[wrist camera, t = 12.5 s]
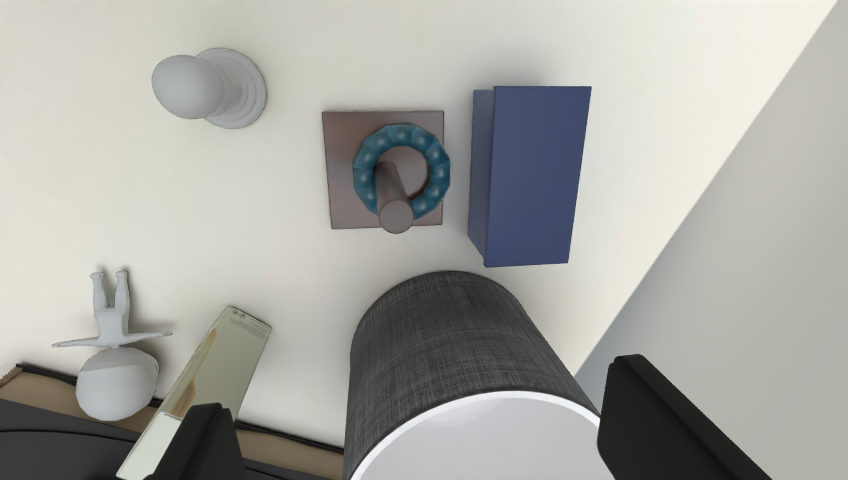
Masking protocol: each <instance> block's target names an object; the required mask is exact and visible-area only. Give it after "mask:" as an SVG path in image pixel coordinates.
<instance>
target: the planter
mask: <svg viewBox="0 0 848 480" xmlns="http://www.w3.org/2000/svg"><path fill="white" fill-rule="evenodd" d="M600 417H601V415H600V413H599V412H598V411H597V409H596V408H595V407H594V405H593V404H592V402H591V401H590V400H589V398H588V397H587V396H586V394H585V393H584V392H583V390H582V389H581V388H580V386H579V385H578V384H577V382H576V381H575V379H574V378H573V376H572V375H571V374H570V372H569V371H568V370H567V368H566V367H565V366H564V364H563V363H562V361H561V360H560V359H559V357H558V356H557V355H556V353H555V352H554V351H553V349H552V348H551V346H550V345H549V344H548V342H547V341H546V340H545V338H544V337H543V336H542V334H541V333H540V332H539V330H538V329H537V328H536V326H535V325H534V324H533V322H532V321H531V319H530V318H529V317H528V315H527V313H526V312H525V310H524V308H523V307H522V306H521V304H520V303H519V301H518V300H517V299H516V298H515V297H514V296H513V295H512V294H511V293H510V292H509V291H508V290H506V289H505V288H504V287H502V286H501V285H499V284H498V283H496V282H494V281H492V280H490V279H488V278H485V277H482V276H479V275H475V274H471V273H466V272H453V271H448V272H436V273H430V274H426V275H422V276H418V277H416V278H413V279H410V280H408V281H405V282H403V283H401V284H399V285H397V286H396V287H394V288H393V289H391V290H390V291H388V292H387V293H385V294H384V295H383V296H382V297H380V298H379V299H378V300H377V301H376V302H375V303H374V304H373V305H372V306H371V307H370V309H369V310H368V311H367V312H366V314H365V315H364V316H363V318H362V320H361V321H360V323H359V325H358V327H357V329H356V332H355V334H354V337H353V341H352V345H351V352H350V378H349V391H348V403H347V416H346V430H345V443H344V457H343V470H342V480H615V479H614V477H613V475H612V474H611V472H610V471H609V469H608V468H607V466H606V465H605V463H604V461H603V460H602V458H601V456H600V455H599V452H598V449H597V436H598V429H599V423H600Z"/></svg>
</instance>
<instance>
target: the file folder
mask: <svg viewBox="0 0 848 480" xmlns="http://www.w3.org/2000/svg"><path fill="white" fill-rule="evenodd" d="M76 384H77V380H76V379H73V378H69V377H65V376H61V375H58V374H54V373H50V372H46V371H43V370H39V369H35V368H31V367H28V366H24V365H20V364H16V367H14V369H12V370H11V371H10V372H8V375H7V374H6V375H5V376H3V378H2V379H0V480H125V479H122V478H119V477H117V476H116V474H117V472H118V470H119V469H120V467H121V466H122V464H123V462H124V461H125V459H126V458H127V456H128V455H129V453H130V451H131V450H132V448H133V447H134V445H135V444H136V442H137V441H138V439H139V438H140V436H141V435H142V433H143V432H144V430H145V428H146V427H147V425H148V424H149V422H150V421H151V419H152V418H153V416H154V415H155V413H156V412H157V410H158V409H159V407H160V406H161V404H162V402H159V401H155V400H151V401H150V402H149V404H148V405H146V406H145V407H143V408H142V409H141V410H139V411H138V412H136V413H135V414H133V415H132V416H130V417H127V418H124V419H121V420H118V421H101V420H98V419H96V418H93V417H91V416H88V415H87V414H86V413H85V411H84V410H83V409H82V408H81V407H80V406H79V403H78V400H77V397H76ZM234 426H235V430H236V434H237V438H238V442H239V446H240V450H241V454H242V458H243V462H244V466H245V470H246V474H247V478H248V480H342V470H343V457H344V451H342V450H338V449H335V448H331V447H327V446H323V445H320V444H316V443H312V442H308V441H305V440H301V439H297V438H293V437H290V436H286V435H282V434H278V433H275V432H271V431H267V430H263V429H260V428H256V427H252V426H248V425H245V424H241V423H239V421H237V422H234Z"/></svg>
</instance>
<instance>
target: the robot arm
mask: <svg viewBox="0 0 848 480" xmlns="http://www.w3.org/2000/svg"><path fill="white" fill-rule="evenodd" d="M597 449H598V452H599V455H600V456H601V458H602V460H603V461H604V463H605V465H606V466H607V468H608V469H609V471H610V472H611V474H612V475H613V477H614V479H615V480H772V479H771V478H770V477H769V476H768V475H767V474H766V473H765V472H764V471H763V470H762V469H761V468H760V467H759V466H758V465H757V464H755V463H754V462H753V461H752V460H751V459H750V458H749V457H748V456H747V455H746V454H745V453H744V452H743V451H742V450H741V449H740V448H739V447H738V446H737V445H736V444H734V443H733V441H732V440H730V439H729V438H728V437H727V436H726V435H725V434H724V433H723V432H722V431H721V430H720V429H719V428H718V427H717V426H716V425H715V424H714V423H713V422H712V421H711V420H710V419H709V418H707V417H706V416H705V415H704V414H703V413H702V412H701V411H700V410H699V409H698V408H697V407H696V406H695V405H694V404H693V403H692V402H691V401H690V400H689V399H687V397H686V396H685V395H683V393H681V392H680V391H679V390H678V389H677V388H676V387H675V386H674V385H673V384H672V383H671V382H670V381H669V380H668V379H667V378H666V377H665V376H664V375H663V374H662V373H661V372H659V370H657V369H656V368H655V367H654V366H653V365H652V364H651V363H650V362H649V361H648V360H647V359H646V358H645V357H644V356H642V355H640V354H633V355H625V356H618V357H616V358H615V359H614V362H613V363H611V364H610V365H609V368H608V374H607V380H606V386H605V392H604V398H603V405H602V411H601V417H600V423H599V429H598V436H597ZM143 480H248V478H247V474H246V470H245V466H244V462H243V458H242V454H241V450H240V446H239V442H238V438H237V434H236V430H235V426H234V422H233V418H232V414H231V411H230V409H229V408H223V407H222V404H221V403H219V402H216V403H208V404H199V405H193V406H191V407H190V408H189V410H188V411H187V413H186V415H185V417H184V418H183V420H182V422H181V424H180V426H179V427H178V429H177V431H176V433H175V435H174V436H173V438H172V440H171V442H170V444H169V445H168V447H167V449H166V451H165V453H164V455H163V456H162V458H161V460H160V462H159V464H158V465H157V467H156V469H155V471H154V473H153V474H149V475H147V476H146V477H145V478H144V479H143Z"/></svg>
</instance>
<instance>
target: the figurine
mask: <svg viewBox="0 0 848 480" xmlns="http://www.w3.org/2000/svg"><path fill="white" fill-rule="evenodd" d="M115 275H116V277H117V288H116V292H115V305H114V306H110V304H109V297H108V293H107V290H106V288H105V285H104V280H103V277H104V274H103V273H102V272H99V273H92V274H91V275H90V277H91V278H92V279H93V285H94V293H93V305H94V316H95V318H96V320H97V323H98V326H99V331H100V336H99V337H93V338H85V339H78V340H71V341H64V342H60V343H55V344H53V345H52V347H67V346H79V345H82V346H102V347H103V346H112V347H111V348H110V349H107V350H103V351H100V352H99V353H97V354H96V355H94V356H93V357H91V358H89V359H88V360H87V362H86V363H85V365H84V366H83V368H82V369H81V371H80V372H79V374H78V378H77V384H76V397H77V400H78V403H79V406H80V407H81V408H82V409H83V410H84V411H85V413H86V414H87V415H88V416H91V417H93V418H96V419H98V420H101V421H118V420H121V419H124V418H127V417H130V416H132V415H133V414H135V413H136V412H138V411H139V410H141V409H142V408H143V407H145V406H146V405H148V404H149V402H150V401H151V399H152V397H153V395H154V394H155V392H156V384H157V378H158V372H159V366H158V363H157V361H156V360H155V358H153V357H152V356H150V355H149V354H147V353H145V352H143V351H140V350H138V349H136V348H133V347H121V346H120V345H122V344H127V343H131V342H136V341H139V340H143V339H147V338H154V337H162V336H169V335H172V334H173V333H172V332H144V333H130V332H129V330H128V319H129V311H130V297H129V290H128V285H127V275H128V273H127V272H126V271H119V272H116V274H115Z"/></svg>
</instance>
